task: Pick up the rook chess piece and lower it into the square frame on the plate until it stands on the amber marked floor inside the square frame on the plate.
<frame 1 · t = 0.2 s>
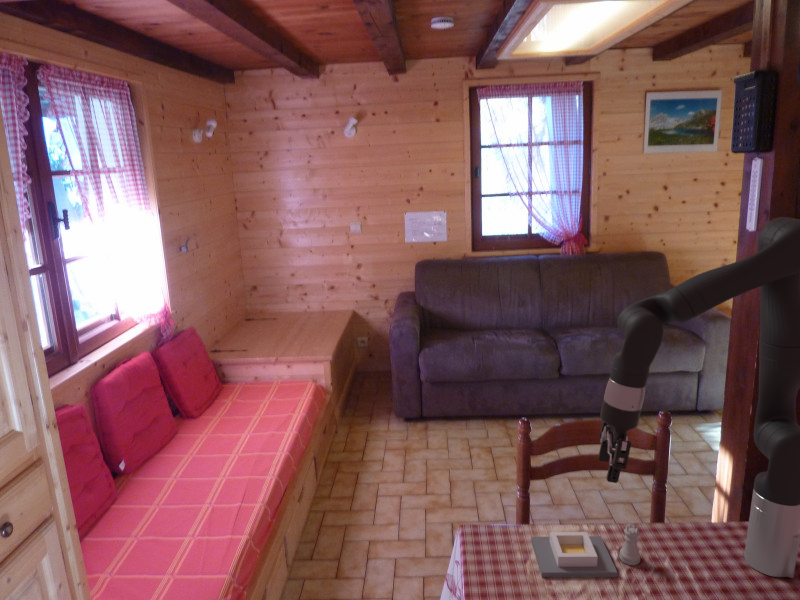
hand: (607, 470, 127), 22 cm above the table, tool pointing down, fingers open, 8 cm apart
square frame on plate: (572, 558, 133), on the table
rook chess piece: (629, 560, 132), on the table
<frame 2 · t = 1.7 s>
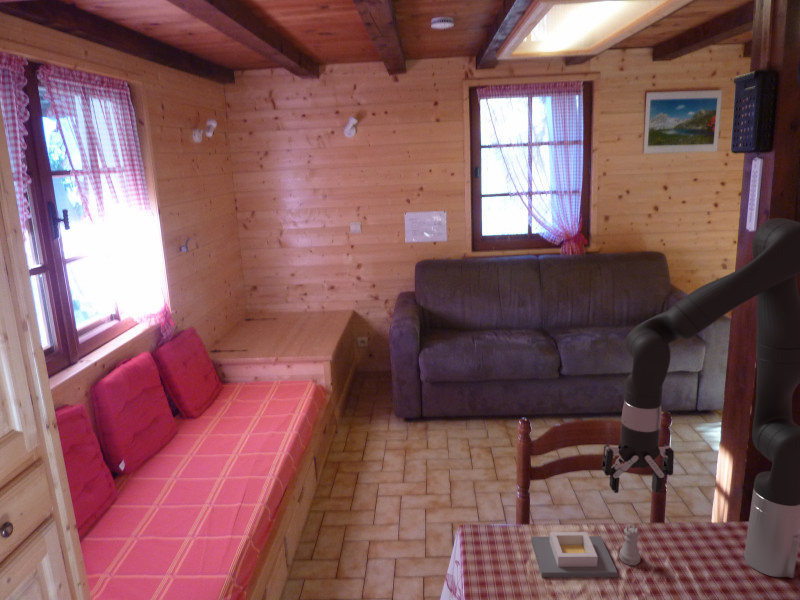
hand: (635, 490, 128), 17 cm above the table, tool pointing down, fingers open, 8 cm apart
nothing on the table moved.
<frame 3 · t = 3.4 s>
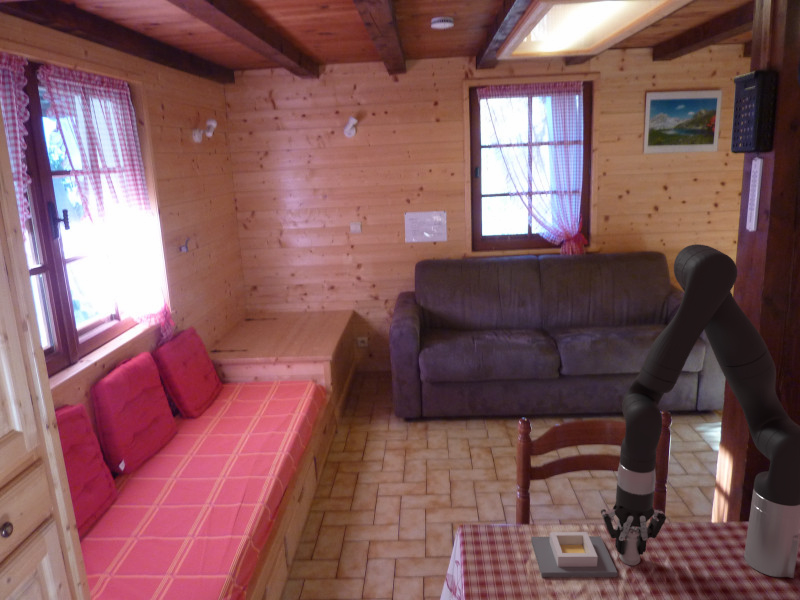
hand: (630, 551, 131), 2 cm above the table, tool pointing down, fingers closed on rook chess piece, 3 cm apart
rook chess piece: (629, 560, 132), on the table, touching gripper
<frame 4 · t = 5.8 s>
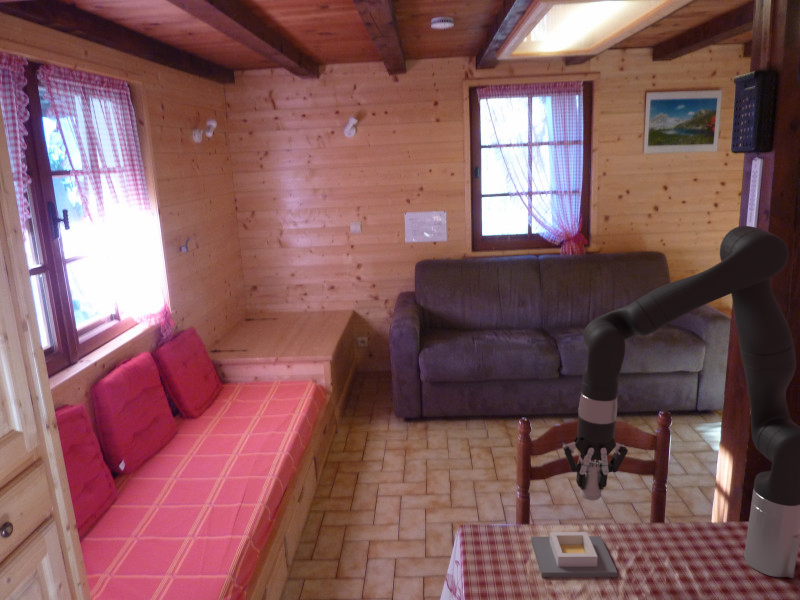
hand: (591, 487, 128), 18 cm above the table, tool pointing down, fingers closed on rook chess piece, 3 cm apart
rook chess piece: (590, 496, 128), point 16 cm above the table, touching gripper
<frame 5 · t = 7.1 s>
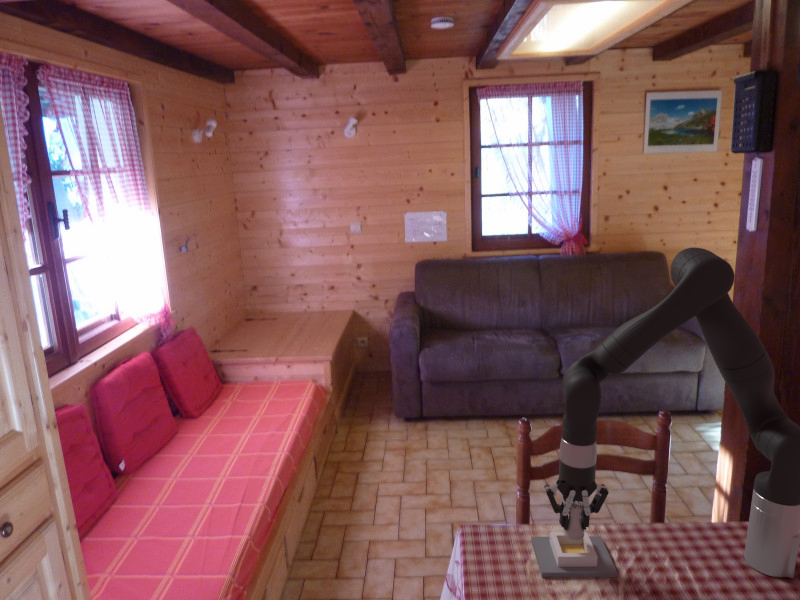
hand: (574, 527, 131), 8 cm above the table, tool pointing down, fingers closed on rook chess piece, 3 cm apart
rook chess piece: (573, 535, 131), point 6 cm above the table, touching gripper
when the fingers open (5 cm above the table, at t = 8.1 s): rook chess piece drops 1 cm, resting on square frame on plate.
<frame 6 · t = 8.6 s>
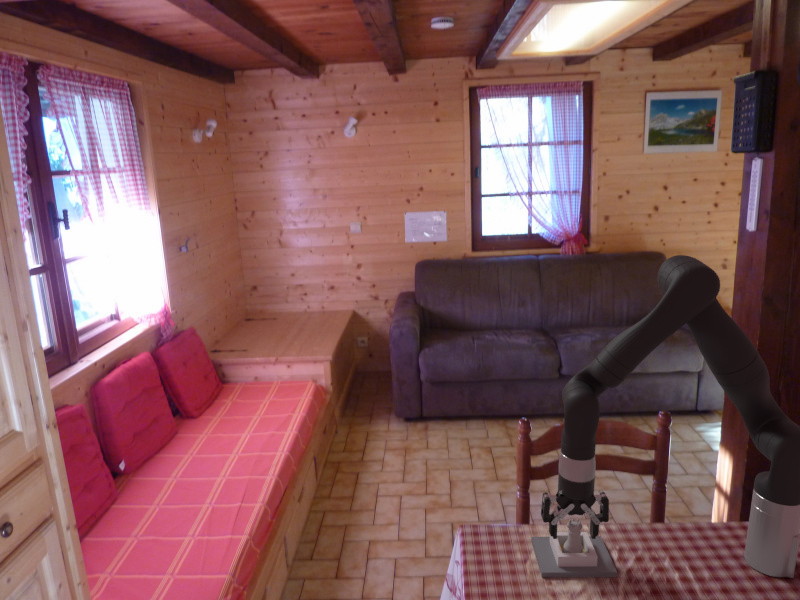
hand: (573, 536, 131), 6 cm above the table, tool pointing down, fingers open, 8 cm apart
rook chess piece: (572, 554, 133), point 1 cm above the table, touching square frame on plate
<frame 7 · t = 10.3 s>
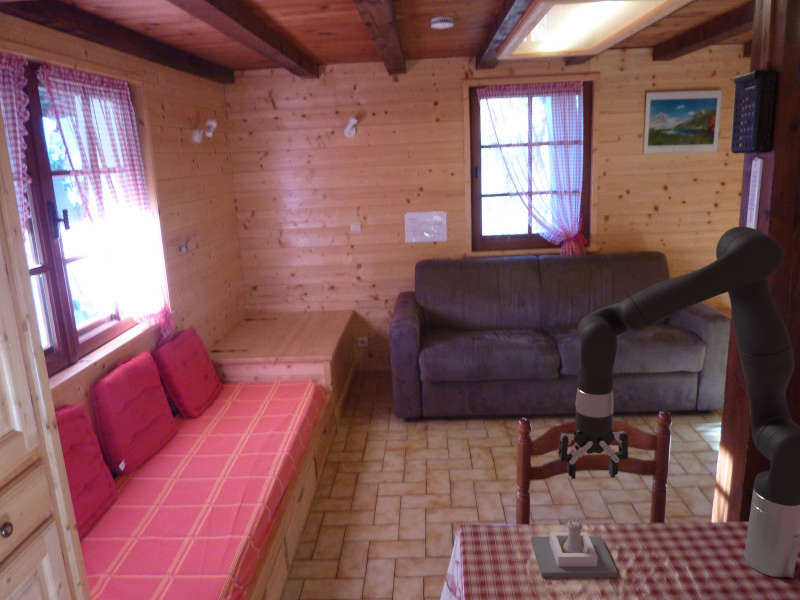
hand: (592, 476, 129), 20 cm above the table, tool pointing down, fingers open, 8 cm apart
nothing on the table moved.
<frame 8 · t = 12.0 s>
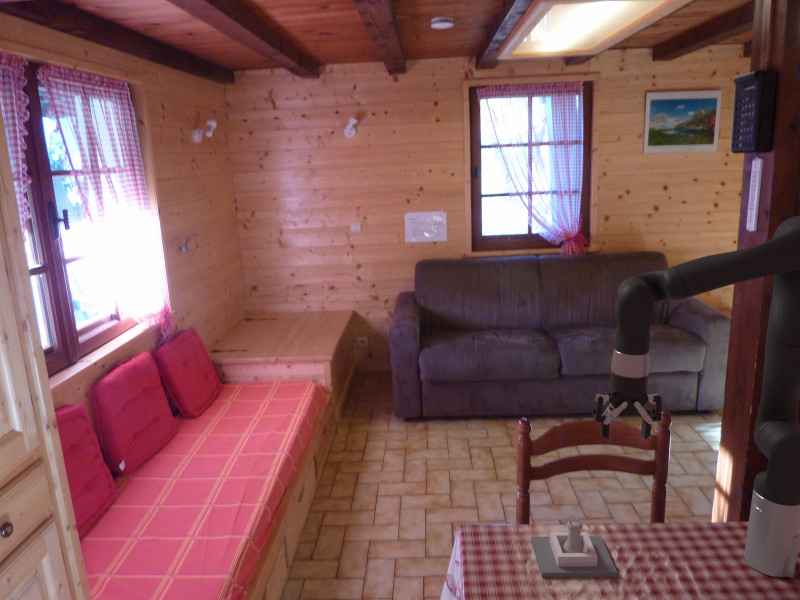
hand: (624, 437, 132), 26 cm above the table, tool pointing down, fingers open, 8 cm apart
nothing on the table moved.
at the end: rook chess piece 0.1 cm off-centre on the square frame on plate, point 1.1 cm above the square frame on plate's base; rook chess piece tilted 0°; the gripper is holding nothing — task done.
